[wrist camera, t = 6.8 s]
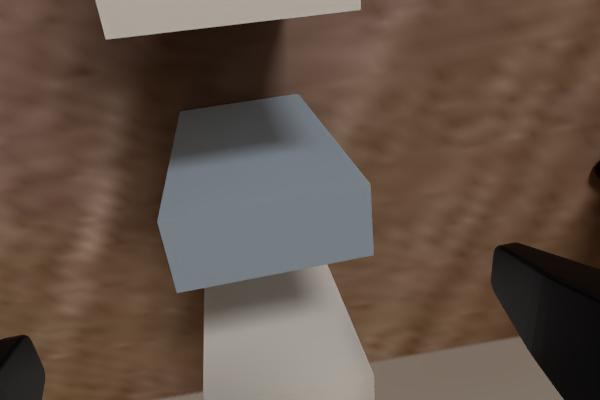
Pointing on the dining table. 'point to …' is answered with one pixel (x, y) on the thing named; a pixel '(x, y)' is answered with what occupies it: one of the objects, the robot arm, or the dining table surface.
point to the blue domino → (259, 195)
